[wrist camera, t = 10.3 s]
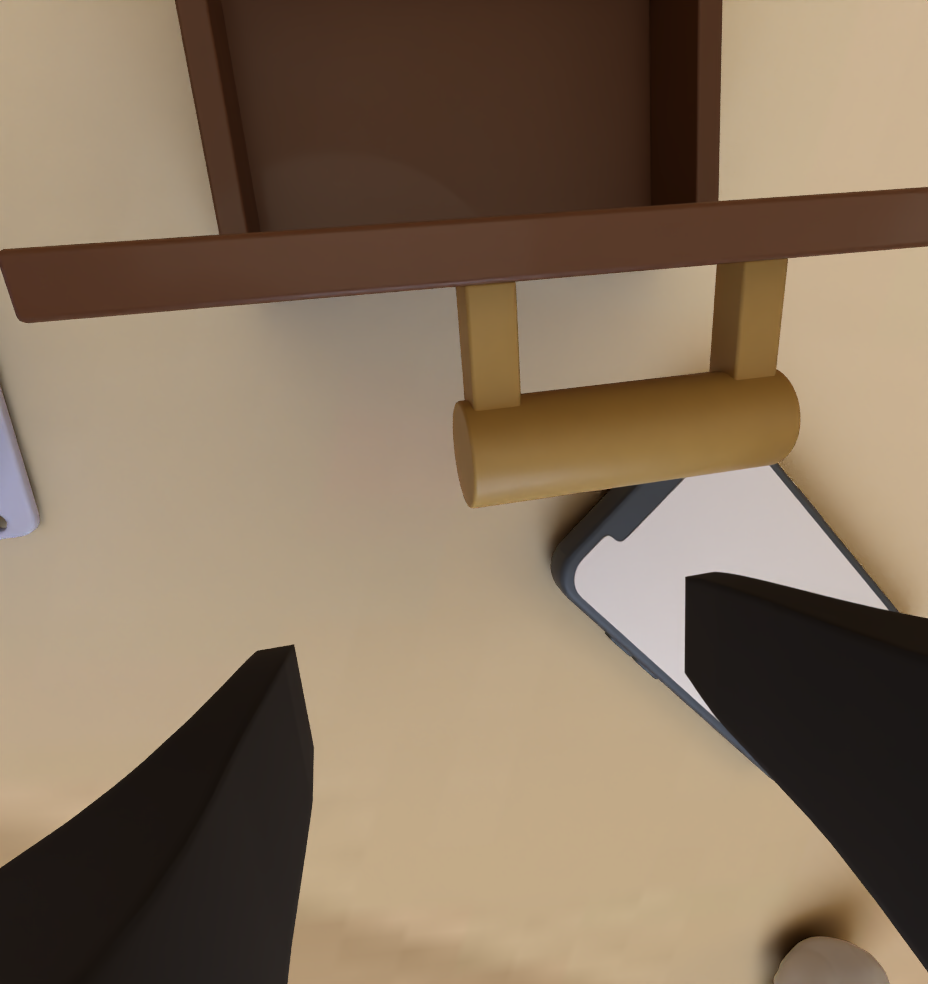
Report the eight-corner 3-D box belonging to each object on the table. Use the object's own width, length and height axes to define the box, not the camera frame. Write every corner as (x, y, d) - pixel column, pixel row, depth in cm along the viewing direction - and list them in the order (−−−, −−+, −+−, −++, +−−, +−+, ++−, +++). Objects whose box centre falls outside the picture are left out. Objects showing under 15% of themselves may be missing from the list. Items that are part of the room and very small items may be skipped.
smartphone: (904, 633, 26) (699, 387, 21) (938, 652, 25) (727, 391, 19) (763, 772, 27) (530, 564, 21) (788, 799, 25) (544, 582, 20)
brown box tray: (182, -81, 15) (138, -191, 12) (658, -75, 17) (727, -168, 14) (251, 297, 18) (228, 287, 15) (660, 263, 20) (718, 247, 17)
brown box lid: (-11, 249, 5) (119, 637, 6) (1242, 165, 7) (1137, 469, 8) (223, 273, 14) (254, 426, 15) (727, 234, 16) (717, 372, 17)
